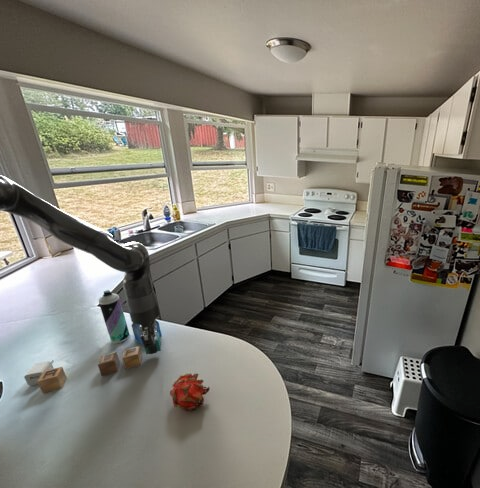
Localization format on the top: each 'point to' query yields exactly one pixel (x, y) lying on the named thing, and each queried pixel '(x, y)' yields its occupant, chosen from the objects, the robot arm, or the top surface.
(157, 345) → the block
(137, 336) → the perfume bottle
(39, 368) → the usb wall charger
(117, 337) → the spray can
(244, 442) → the top surface
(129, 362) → the block
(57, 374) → the block
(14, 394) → the top surface
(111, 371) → the block
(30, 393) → the top surface
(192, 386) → the dragon fruit
